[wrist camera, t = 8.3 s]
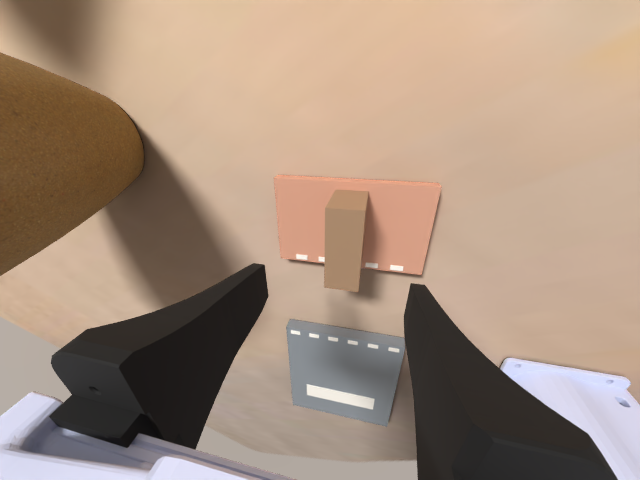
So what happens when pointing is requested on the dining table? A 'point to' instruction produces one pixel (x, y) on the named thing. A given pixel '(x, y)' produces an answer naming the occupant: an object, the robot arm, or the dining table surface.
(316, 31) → the dining table surface
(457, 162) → the dining table surface
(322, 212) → the stub
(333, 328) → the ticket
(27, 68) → the plant pot
